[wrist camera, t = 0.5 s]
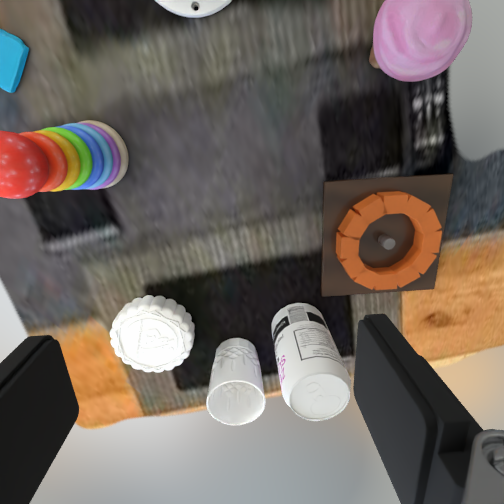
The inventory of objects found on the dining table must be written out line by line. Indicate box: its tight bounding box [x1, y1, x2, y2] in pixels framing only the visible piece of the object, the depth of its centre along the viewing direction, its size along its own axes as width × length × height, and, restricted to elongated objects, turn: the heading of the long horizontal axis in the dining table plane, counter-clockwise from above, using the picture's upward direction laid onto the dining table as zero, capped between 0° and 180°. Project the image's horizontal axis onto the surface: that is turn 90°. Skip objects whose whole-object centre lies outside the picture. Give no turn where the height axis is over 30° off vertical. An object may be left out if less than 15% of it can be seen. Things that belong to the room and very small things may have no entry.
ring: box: [336, 191, 442, 290], centre depth 44 cm, size 13×13×2 cm
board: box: [321, 173, 453, 297], centre depth 45 cm, size 17×17×3 cm
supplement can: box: [272, 303, 351, 421], centre depth 44 cm, size 8×8×15 cm
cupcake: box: [369, 0, 472, 82], centre depth 33 cm, size 9×9×10 cm
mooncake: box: [110, 295, 195, 372], centre depth 48 cm, size 12×12×4 cm
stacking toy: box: [0, 120, 129, 199], centre depth 32 cm, size 8×8×19 cm
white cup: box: [206, 338, 266, 425], centre depth 48 cm, size 8×8×10 cm
